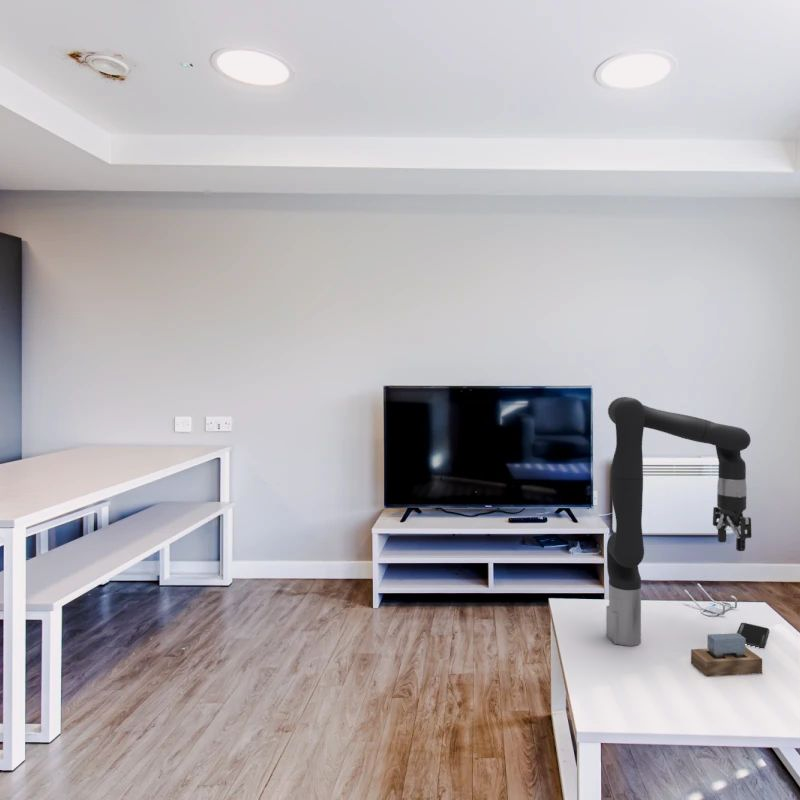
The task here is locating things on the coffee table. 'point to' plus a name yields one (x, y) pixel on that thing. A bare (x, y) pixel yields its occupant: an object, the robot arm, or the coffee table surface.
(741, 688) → the coffee table surface
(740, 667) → the two-pocket wooden block
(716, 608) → the silver thin wire frame
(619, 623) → the robot arm
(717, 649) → the brushed steel block
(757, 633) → the phone
